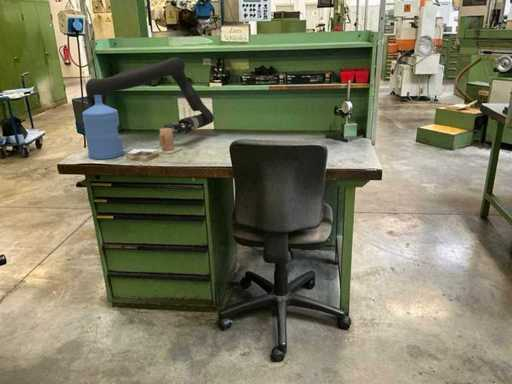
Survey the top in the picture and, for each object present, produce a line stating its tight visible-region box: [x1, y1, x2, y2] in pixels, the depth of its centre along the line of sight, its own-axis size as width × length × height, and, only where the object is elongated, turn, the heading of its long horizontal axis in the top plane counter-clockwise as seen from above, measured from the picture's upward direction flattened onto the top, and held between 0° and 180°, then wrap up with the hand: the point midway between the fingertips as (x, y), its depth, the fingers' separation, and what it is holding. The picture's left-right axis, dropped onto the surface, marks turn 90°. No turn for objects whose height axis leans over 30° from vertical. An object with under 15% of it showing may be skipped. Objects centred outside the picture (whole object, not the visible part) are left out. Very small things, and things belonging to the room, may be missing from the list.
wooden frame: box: [126, 150, 160, 163], centre depth 191 cm, size 10×10×2 cm
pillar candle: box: [158, 127, 175, 151], centre depth 199 cm, size 6×8×10 cm
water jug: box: [81, 95, 124, 160], centre depth 192 cm, size 16×16×28 cm
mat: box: [152, 146, 183, 155], centre depth 202 cm, size 10×10×1 cm
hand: (170, 130), depth 202 cm, fingers open, 8 cm apart
